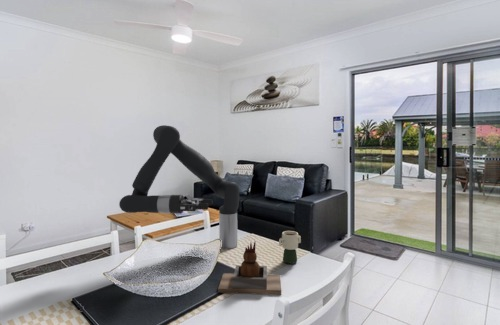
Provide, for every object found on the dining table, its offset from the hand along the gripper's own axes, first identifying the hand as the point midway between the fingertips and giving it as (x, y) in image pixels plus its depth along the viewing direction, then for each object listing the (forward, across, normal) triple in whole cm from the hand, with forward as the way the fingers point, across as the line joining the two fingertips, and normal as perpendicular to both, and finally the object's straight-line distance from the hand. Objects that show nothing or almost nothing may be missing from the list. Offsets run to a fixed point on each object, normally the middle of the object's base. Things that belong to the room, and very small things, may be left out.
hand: (210, 204), depth 116 cm
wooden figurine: (+16, -11, +26) cm, 33 cm away
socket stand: (+17, -11, +28) cm, 34 cm away
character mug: (+33, +11, +28) cm, 45 cm away
